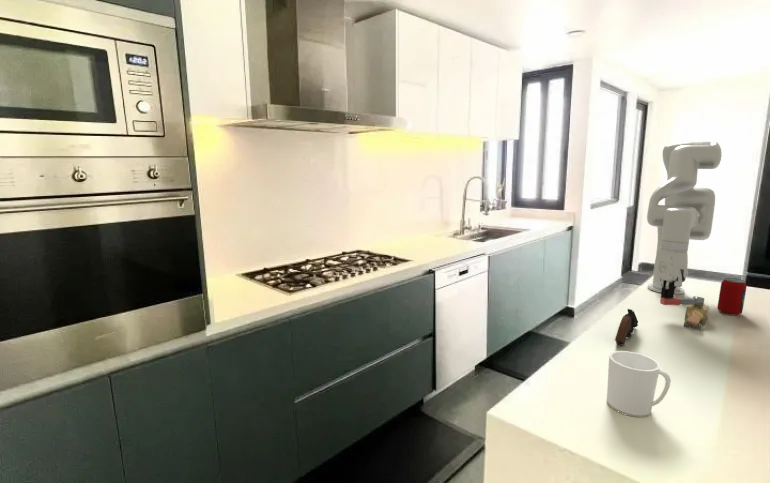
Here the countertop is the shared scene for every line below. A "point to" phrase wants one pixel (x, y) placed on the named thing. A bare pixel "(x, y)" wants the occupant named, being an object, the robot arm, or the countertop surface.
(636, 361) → the mug
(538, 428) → the countertop surface
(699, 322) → the pipework
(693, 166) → the robot arm
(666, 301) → the lever
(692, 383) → the countertop surface
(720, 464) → the countertop surface
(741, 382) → the countertop surface
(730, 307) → the beverage can
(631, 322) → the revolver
